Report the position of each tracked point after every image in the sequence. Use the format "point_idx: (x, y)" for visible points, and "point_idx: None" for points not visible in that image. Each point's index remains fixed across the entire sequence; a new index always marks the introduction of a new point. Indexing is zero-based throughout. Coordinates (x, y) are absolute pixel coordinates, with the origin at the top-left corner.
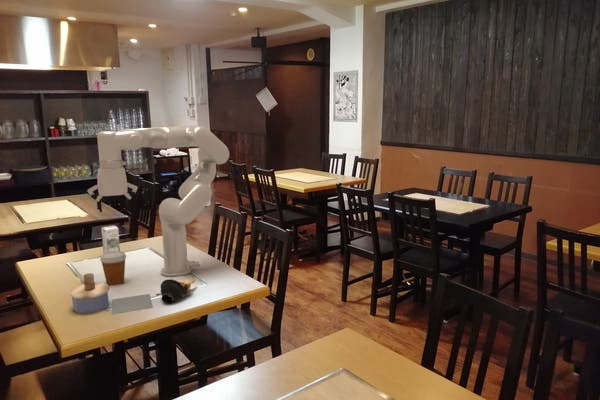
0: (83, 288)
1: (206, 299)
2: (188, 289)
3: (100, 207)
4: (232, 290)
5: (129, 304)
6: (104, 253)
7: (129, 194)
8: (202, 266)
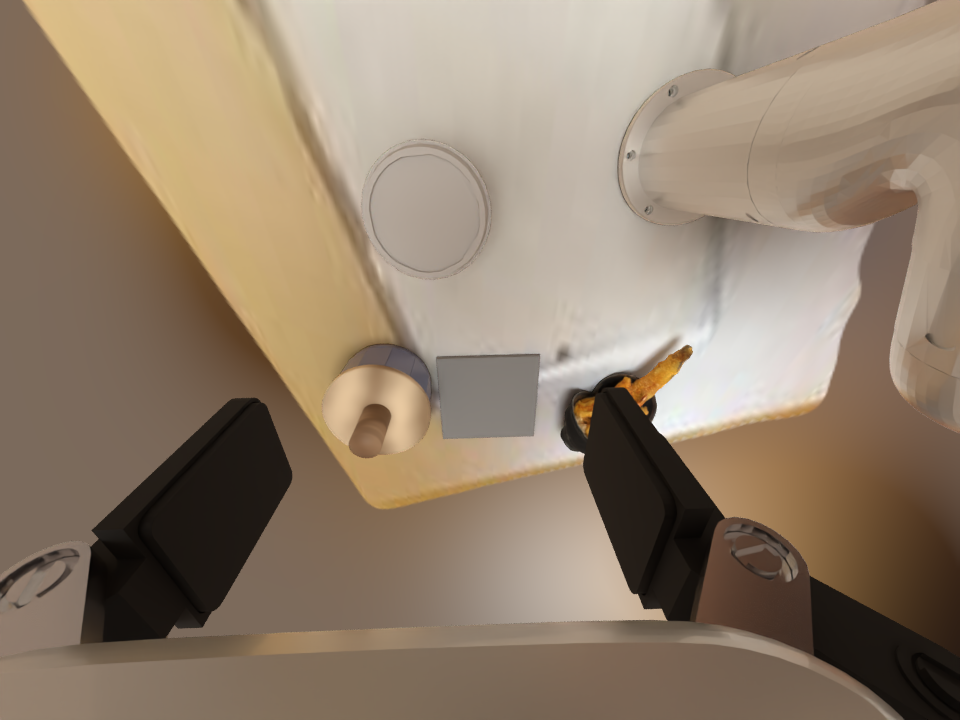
0: (356, 406)
1: (661, 423)
2: None
3: (254, 530)
4: (745, 395)
5: (482, 404)
6: (374, 174)
7: (794, 638)
8: None
